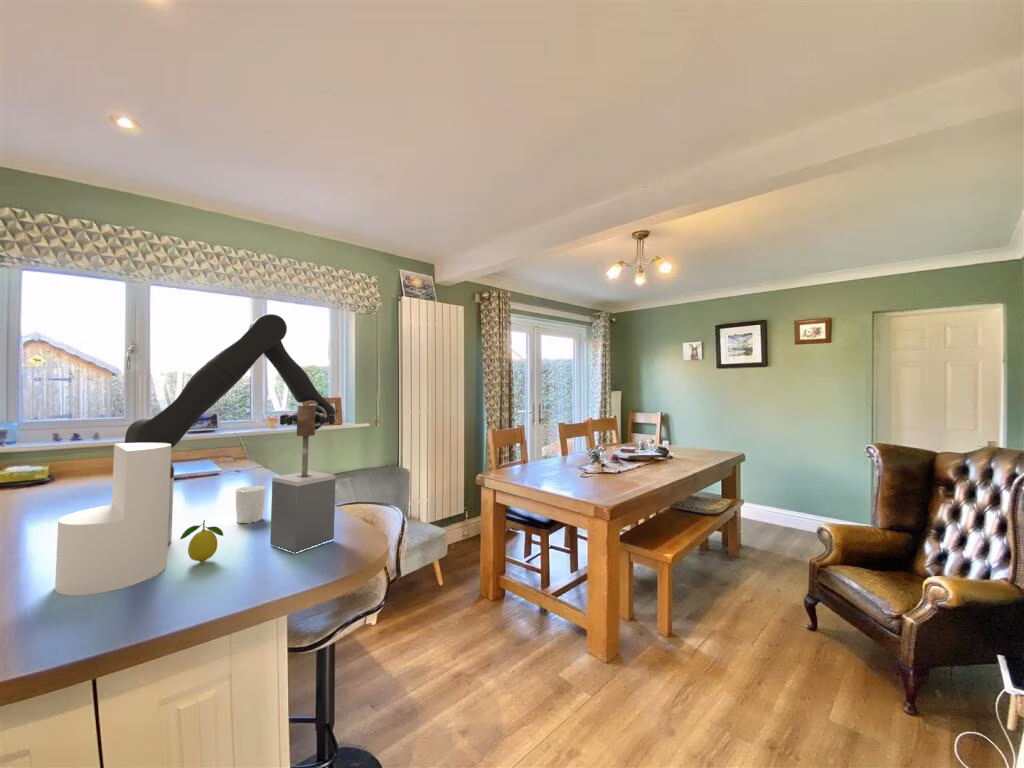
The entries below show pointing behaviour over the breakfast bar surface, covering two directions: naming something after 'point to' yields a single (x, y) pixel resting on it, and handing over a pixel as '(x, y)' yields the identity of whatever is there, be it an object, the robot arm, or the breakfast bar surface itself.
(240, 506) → the white cup
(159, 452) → the white stepped oval block
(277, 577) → the breakfast bar surface
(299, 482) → the grey upright block
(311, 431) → the plunger
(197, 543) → the lemon
